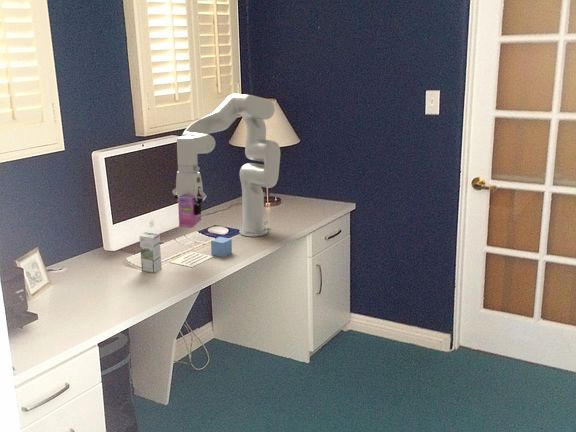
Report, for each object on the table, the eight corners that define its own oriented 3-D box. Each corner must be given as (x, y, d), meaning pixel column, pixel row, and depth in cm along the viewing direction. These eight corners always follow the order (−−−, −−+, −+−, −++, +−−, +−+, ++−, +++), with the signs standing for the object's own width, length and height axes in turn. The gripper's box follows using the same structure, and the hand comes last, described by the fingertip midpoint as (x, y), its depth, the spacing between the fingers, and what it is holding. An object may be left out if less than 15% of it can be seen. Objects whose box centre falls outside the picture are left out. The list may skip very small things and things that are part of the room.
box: (193, 228, 259) (191, 198, 256) (179, 227, 260) (177, 197, 257) (201, 220, 269) (200, 191, 265) (188, 219, 270) (186, 190, 266)
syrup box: (162, 268, 259) (160, 232, 255) (154, 273, 253) (152, 237, 249) (149, 266, 261) (147, 231, 256) (141, 271, 255) (138, 235, 251)
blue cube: (220, 250, 279) (219, 236, 277) (231, 252, 276) (231, 239, 275) (211, 254, 274) (210, 240, 272) (223, 257, 271) (223, 243, 270)
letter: (191, 252, 277) (191, 251, 277) (213, 256, 271) (213, 256, 271) (169, 262, 265) (169, 261, 265) (191, 267, 260) (191, 266, 260)
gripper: (212, 169, 257) (213, 213, 262) (176, 164, 265) (178, 207, 270) (200, 173, 251) (202, 218, 256) (163, 167, 259) (166, 212, 264)
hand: (189, 212), depth 263 cm, fingers closed on box, 7 cm apart
